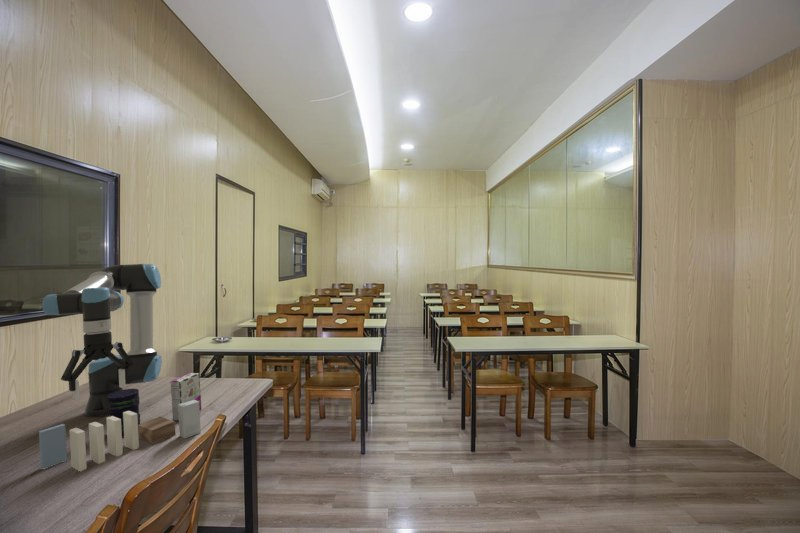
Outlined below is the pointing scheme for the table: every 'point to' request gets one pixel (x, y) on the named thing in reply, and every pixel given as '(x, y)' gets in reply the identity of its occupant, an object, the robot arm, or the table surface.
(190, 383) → the candy bar box
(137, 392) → the storage jar
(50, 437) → the tile
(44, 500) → the table surface
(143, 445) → the table surface
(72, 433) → the tile
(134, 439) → the tile
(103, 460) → the tile
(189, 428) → the skincare box
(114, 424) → the tile
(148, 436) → the end block
